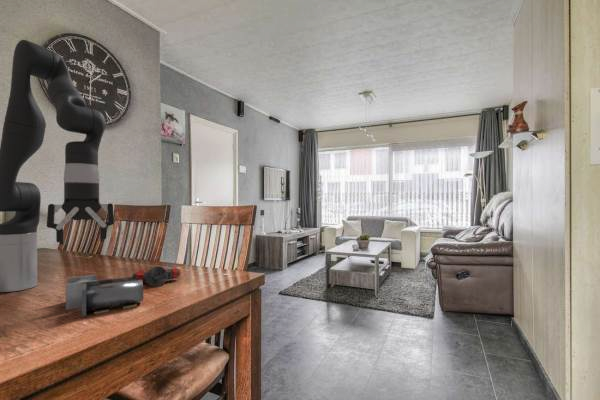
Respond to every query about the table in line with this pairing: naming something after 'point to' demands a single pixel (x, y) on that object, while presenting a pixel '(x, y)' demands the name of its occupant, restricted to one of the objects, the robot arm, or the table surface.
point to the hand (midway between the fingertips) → (82, 242)
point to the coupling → (77, 290)
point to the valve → (147, 276)
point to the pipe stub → (111, 296)
